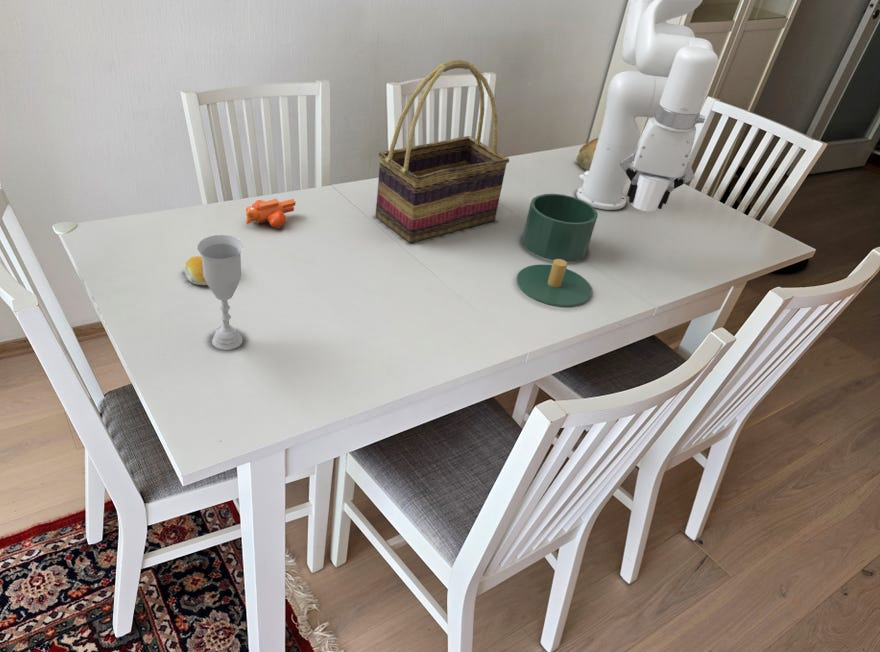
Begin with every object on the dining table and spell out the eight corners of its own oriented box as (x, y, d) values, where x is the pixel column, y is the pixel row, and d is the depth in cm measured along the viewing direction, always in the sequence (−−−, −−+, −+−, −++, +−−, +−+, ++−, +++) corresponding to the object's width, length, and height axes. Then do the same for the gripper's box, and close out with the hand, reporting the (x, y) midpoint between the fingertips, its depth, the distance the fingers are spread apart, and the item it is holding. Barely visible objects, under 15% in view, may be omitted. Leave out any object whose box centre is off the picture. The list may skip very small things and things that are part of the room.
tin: (510, 246, 151) (519, 206, 145) (540, 225, 161) (549, 187, 155) (568, 270, 145) (580, 230, 139) (596, 247, 154) (608, 209, 149)
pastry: (578, 155, 199) (585, 128, 194) (621, 164, 197) (629, 137, 192) (571, 171, 189) (579, 143, 184) (616, 182, 186) (625, 153, 181)
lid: (502, 287, 137) (508, 261, 133) (537, 261, 147) (544, 236, 143) (570, 318, 130) (578, 292, 127) (602, 288, 140) (610, 263, 137)
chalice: (209, 327, 117) (201, 233, 106) (249, 328, 118) (245, 236, 107) (203, 353, 111) (193, 257, 100) (245, 354, 112) (240, 259, 101)
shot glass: (662, 215, 140) (674, 184, 135) (628, 209, 140) (639, 177, 136) (659, 201, 145) (670, 170, 141) (626, 195, 146) (637, 164, 141)
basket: (408, 245, 147) (428, 77, 125) (370, 216, 155) (383, 55, 134) (499, 221, 160) (531, 66, 138) (459, 196, 169) (484, 46, 147)
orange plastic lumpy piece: (289, 188, 150) (240, 199, 143) (306, 211, 147) (257, 223, 141) (285, 205, 153) (237, 216, 147) (302, 228, 151) (254, 240, 144)
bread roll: (240, 280, 130) (240, 262, 127) (194, 290, 125) (193, 272, 123) (224, 259, 135) (223, 242, 132) (179, 269, 130) (177, 251, 128)
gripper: (719, 119, 133) (685, 203, 144) (630, 103, 135) (604, 187, 146) (723, 132, 127) (687, 219, 138) (631, 115, 129) (603, 202, 141)
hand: (645, 202), depth 142 cm, fingers closed on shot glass, 5 cm apart
